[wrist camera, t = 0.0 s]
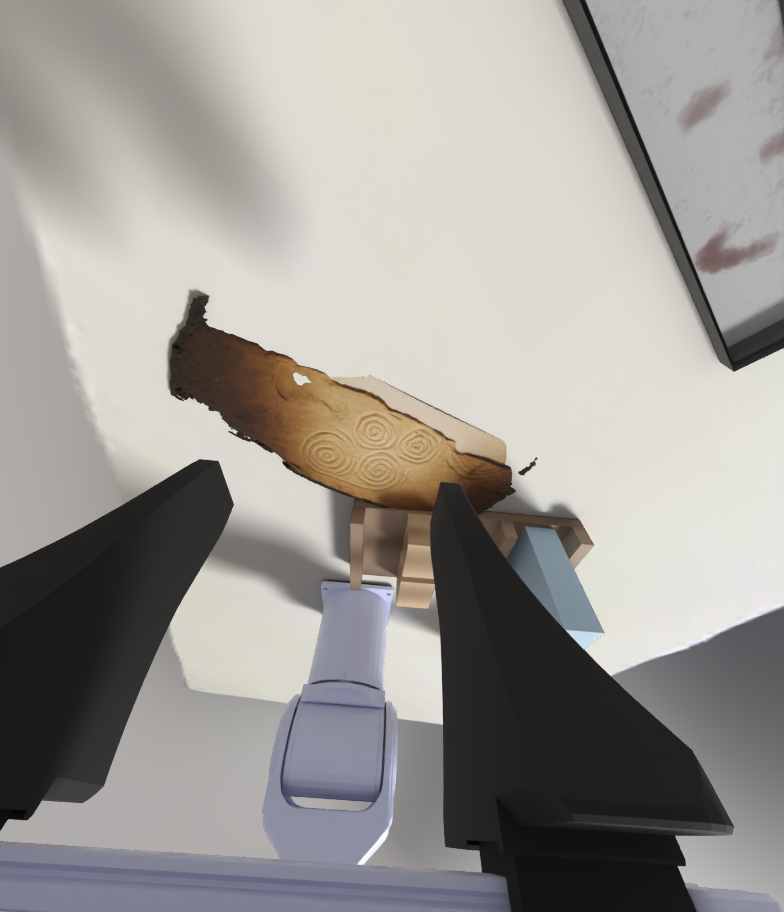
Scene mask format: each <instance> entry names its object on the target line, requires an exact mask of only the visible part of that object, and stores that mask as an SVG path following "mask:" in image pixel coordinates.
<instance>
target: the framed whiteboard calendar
mask: <svg viewBox="0 0 784 912" xmlns="http://www.w3.org/2000/svg"><path fill="white" fill-rule="evenodd" d="M563 2H564V5H565V7H566V9H567V11H568V14H569V16H570V18H571V21H572V23H573V25H574V28H575V30H576V32H577V34H578V37H579V39H580V41H581V44H582V46H583V48H584V51H585V53H586V55H587V57H588V60H589V62H590V64H591V67H592V69H593V71H594V73H595V76H596V78H597V80H598V83H599V85H600V87H601V90H602V92H603V94H604V96H605V99H606V101H607V103H608V106H609V108H610V110H611V113H612V115H613V117H614V119H615V122H616V124H617V126H618V129H619V131H620V133H621V135H622V138H623V140H624V142H625V145H626V147H627V149H628V152H629V154H630V156H631V158H632V161H633V163H634V165H635V168H636V170H637V172H638V175H639V177H640V179H641V181H642V184H643V186H644V188H645V191H646V193H647V195H648V197H649V200H650V202H651V204H652V207H653V209H654V211H655V214H656V216H657V218H658V220H659V223H660V225H661V227H662V230H663V232H664V234H665V237H666V239H667V241H668V243H669V246H670V248H671V250H672V253H673V255H674V257H675V259H676V262H677V264H678V266H679V269H680V271H681V273H682V276H683V278H684V280H685V282H686V285H687V287H688V289H689V292H690V294H691V296H692V299H693V301H694V303H695V305H696V308H697V310H698V312H699V315H700V317H701V319H702V321H703V324H704V326H705V328H706V331H707V333H708V335H709V338H710V340H711V342H712V344H713V347H714V349H715V351H716V354H717V356H718V358H719V361H720V362H721V363H722V364H724V365H725V366H726V367H728V368H729V369H731V370H732V371H737V370H739V369H741V368H743V367H745V366H747V365H749V364H751V363H753V362H755V361H757V360H759V359H762V358H764V357H766V356H768V355H770V354H772V353H774V352H776V351H778V350H780V349H782V348H784V0H563Z"/></svg>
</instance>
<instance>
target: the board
mask: <svg viewBox="0 0 784 912" xmlns="http://www.w3.org/2000/svg"><path fill="white" fill-rule="evenodd" d="M507 560H508V562H509V563H510V564H511V566H512V567H513V569H514V570H515V571H516V572H517V574H518V575H519V576H520V578H521V579H522V580H523V582H524V583H525V584H526V585H527V587H528V588H529V589H530V590H531V591H532V593H533V594H534V595H535V596H536V597H537V599H538V600H539V601H540V602H541V603H542V605H543V606H544V607H545V608H546V609H547V610H548V611H549V613H550V614H551V615H552V616H553V617H554V618H555V619H556V621H557V622H558V623H559V624H560V625H561V626H562V627H563V628H564V629H565V630H566V631H567V632H568V633H569V634H570V635H571V636H572V638H573V639H574V640H575V641H576V642H577V643H578V644H579V645H580V646H581V647H582V648H583V649H585V648H587V647H588V646H589V645H590V644H592V643H593V642H594V641H595V640H597V639H598V638H599V637H601V636H602V635H603V634H604V631H603V629H602V627H601V625H600V623H599V621H598V619H597V616H596V614H595V612H594V610H593V608H592V606H591V604H590V602H589V600H588V598H587V596H586V594H585V591H584V589H583V587H582V585H581V583H580V581H579V579H578V577H577V575H576V573H575V571H574V569H573V566H572V564H571V562H570V560H569V558H568V556H567V554H566V552H565V550H564V548H563V546H562V543H561V541H560V539H559V537H558V535H557V533H556V531H555V529H549V528H538V527H527V526H525V527H524V529H523V531H522V532H521V534H520V536H519V538H518V539H517V541H516V543H515V545H514V546H513V548H512V550H511V552H510V554H509V555H508V557H507Z"/></svg>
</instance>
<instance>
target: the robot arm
mask: <svg viewBox="0 0 784 912" xmlns="http://www.w3.org/2000/svg"><path fill="white" fill-rule="evenodd" d="M233 506H234V504H233V501H232V498H231V495H230V492H229V489H228V487H227V484H226V481H225V478H224V475H223V472H222V469H221V466H220V464H219V461H212V460H201V459H199V460H197V461H196V462H194V463H192V464H190V465H188V466H187V467H185V468H183V469H182V470H180V471H178V472H177V473H175V474H173V475H172V476H170V477H168V478H167V479H165V480H163V481H162V482H160V483H159V484H157V485H155V486H154V487H152V488H150V489H149V490H147V491H145V492H144V493H142V494H140V495H139V496H137V497H135V498H134V499H132V500H130V501H129V502H127V503H125V504H124V505H122V506H120V507H118V508H116V509H115V510H113V511H111V512H109V513H108V514H106V515H104V516H102V517H101V518H99V519H97V520H95V521H93V522H92V523H90V524H88V525H86V526H84V527H83V528H81V529H79V530H77V531H75V532H73V533H71V534H69V535H67V536H65V537H64V538H62V539H60V540H58V541H56V542H54V543H52V544H50V545H48V546H46V547H44V548H41V549H39V550H37V551H35V552H33V553H31V554H29V555H27V556H25V557H23V558H21V559H18V560H16V561H14V562H12V563H10V564H7V565H5V566H3V567H1V568H0V830H1V829H2V827H3V826H4V824H5V823H6V821H7V820H8V819H16V820H28V819H29V818H30V817H31V816H32V815H33V814H34V812H35V810H36V809H37V807H38V806H39V804H40V803H41V801H42V800H44V801H58V802H74V803H83V802H85V801H87V800H88V799H90V798H91V797H92V796H93V795H95V794H96V793H97V792H98V791H99V790H100V789H101V788H102V787H103V786H104V784H105V781H106V778H107V775H108V772H109V769H110V767H111V764H112V761H113V758H114V756H115V753H116V750H117V747H118V745H119V742H120V739H121V737H122V734H123V731H124V729H125V726H126V723H127V721H128V718H129V716H130V713H131V711H132V708H133V706H134V704H135V701H136V699H137V696H138V694H139V691H140V689H141V686H142V684H143V681H144V679H145V677H146V675H147V672H148V670H149V668H150V666H151V663H152V661H153V659H154V656H155V654H156V652H157V650H158V648H159V645H160V643H161V641H162V639H163V637H164V635H165V633H166V631H167V629H168V627H169V624H170V622H171V620H172V618H173V616H174V614H175V612H176V610H177V608H178V606H179V605H180V603H181V601H182V599H183V597H184V596H185V594H186V592H187V591H188V589H189V587H190V586H191V584H192V582H193V581H194V579H195V577H196V576H197V574H198V572H199V571H200V569H201V567H202V566H203V564H204V562H205V561H206V559H207V557H208V556H209V554H210V552H211V551H212V549H213V547H214V546H215V544H216V542H217V541H218V539H219V537H220V535H221V534H222V532H223V529H224V527H225V525H226V523H227V520H228V518H229V515H230V513H231V511H232V508H233ZM430 552H431V560H432V568H433V576H434V584H435V591H436V599H437V607H438V615H439V624H440V637H441V662H442V695H443V747H444V749H443V750H444V751H443V753H444V754H443V755H444V756H443V759H444V760H443V761H444V762H443V763H444V767H443V768H444V770H443V771H444V799H443V802H444V805H443V808H444V809H443V819H444V836H445V846H446V847H450V848H458V849H466V850H479V851H480V858H481V866H482V873H480V872H479V873H478V872H464V871H449V870H433V869H417V868H403V867H388V866H387V867H386V866H372V865H363V864H364V863H365V862H366V861H367V860H368V859H369V857H371V855H372V854H373V853H374V852H375V851H376V850H377V849H378V848H379V847H380V845H381V844H382V843H383V842H384V841H385V839H386V838H387V835H388V832H389V827H390V826H391V824H392V820H393V799H394V790H395V782H396V770H397V746H398V745H397V744H398V723H397V711H396V709H395V708H394V707H393V705H392V703H391V702H390V701H386V702H385V691H384V690H383V683H384V664H385V645H386V627H387V626H388V620H389V615H390V609H391V604H392V598H393V593H394V588H392V587H389V586H378V585H366V584H361V589H360V590H350V583H343V582H331V581H323V582H321V593H322V602H323V616H322V620H321V625H320V630H319V634H318V639H317V644H316V648H315V653H314V657H313V662H312V667H311V671H310V676H309V680H308V684H304V685H303V689H302V694H301V695H300V694H297V695H295V696H294V697H293V698H292V700H290V701H289V702H288V704H287V705H286V707H285V709H284V712H283V714H282V717H281V720H280V724H279V727H278V730H277V734H276V738H275V742H274V747H273V752H272V756H271V763H270V769H269V781H268V786H267V790H266V795H265V799H264V804H263V809H262V812H263V826H264V829H265V832H266V834H267V836H268V838H269V840H270V841H271V843H272V845H273V847H274V848H275V850H276V852H277V853H278V856H279V857H280V859H281V860H280V859H264V858H249V857H234V856H218V855H202V854H187V853H173V852H156V851H142V850H126V849H111V848H95V847H80V846H65V845H49V844H35V843H19V842H4V841H0V911H5V912H783V911H782V909H781V907H780V905H779V904H778V902H777V901H776V900H775V899H773V898H772V897H771V896H770V895H769V894H762V893H755V892H748V891H741V890H728V889H713V888H706V887H699V886H698V885H697V884H691V883H684V881H683V879H682V876H681V874H680V871H679V869H678V866H685V865H686V862H685V858H684V856H683V853H682V851H681V850H680V846H679V844H678V842H677V840H676V837H675V836H690V835H691V836H695V835H696V836H708V835H709V836H711V835H712V836H715V835H716V836H717V835H732V833H733V829H734V826H733V824H732V822H731V820H730V818H729V816H728V814H727V813H726V811H725V809H724V807H723V805H722V803H721V801H720V799H719V798H718V796H717V794H716V792H715V790H714V788H713V786H712V784H711V783H710V781H709V779H708V777H707V775H706V774H705V772H704V770H703V768H702V766H701V765H700V763H699V761H698V760H697V758H696V756H695V755H694V753H693V751H692V750H691V749H690V748H689V747H688V746H687V745H686V744H684V743H683V742H682V741H681V740H680V739H679V738H678V737H677V736H675V735H674V734H673V733H672V732H671V731H670V730H669V729H668V728H667V727H665V726H664V725H663V724H662V723H661V722H660V721H659V720H658V719H656V718H655V717H654V716H653V715H652V714H651V713H650V712H648V710H646V709H645V708H644V707H643V706H642V705H641V704H640V703H639V702H637V701H636V700H635V699H634V698H633V697H632V696H631V695H630V694H629V693H628V692H627V691H625V690H624V689H623V688H622V687H621V686H620V685H619V684H618V683H617V682H616V681H615V680H614V679H613V678H612V677H611V676H610V675H609V674H608V673H607V672H606V671H605V670H604V669H603V668H602V667H601V666H600V665H598V664H597V663H596V662H595V661H594V659H593V658H592V657H591V656H590V655H589V654H588V653H587V652H586V651H585V650H584V649H583V648H582V647H581V646H580V645H579V644H578V643H577V642H576V641H575V640H574V639H573V638H572V636H571V635H570V634H569V633H568V632H567V631H566V630H565V629H564V628H563V627H562V626H561V625H560V624H559V623H558V622H557V621H556V619H555V618H554V617H553V616H552V615H551V614H550V613H549V611H548V610H547V609H546V608H545V607H544V606H543V605H542V603H541V602H540V601H539V600H538V599H537V597H536V596H535V595H534V594H533V593H532V591H531V590H530V589H529V588H528V587H527V585H526V584H525V583H524V582H523V580H522V579H521V578H520V576H519V575H518V574H517V572H516V571H515V570H514V569H513V567H512V566H511V564H510V563H509V562H508V560H507V559H506V558H505V556H504V555H503V553H502V552H501V550H500V549H499V548H498V546H497V545H496V543H495V542H494V540H493V539H492V537H491V535H490V534H489V532H488V531H487V529H486V528H485V526H484V525H483V523H482V521H481V520H480V518H479V517H478V515H477V513H476V512H475V510H474V508H473V506H472V505H471V503H470V501H469V499H468V498H467V496H466V494H465V492H464V490H463V489H462V487H461V485H460V484H457V483H447V482H440V486H439V490H438V494H437V497H436V501H435V505H434V509H433V513H432V517H431V521H430ZM384 704H385V706H384ZM291 796H294V797H308V798H322V799H323V798H324V799H337V800H351V801H365V802H373V803H372V804H371V805H370V806H369V807H368V808H367V809H365V810H362V811H346V810H331V809H317V808H304V807H301V806H298V805H296V804H295V803H294V801H293V800H292V798H291Z"/></svg>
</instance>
